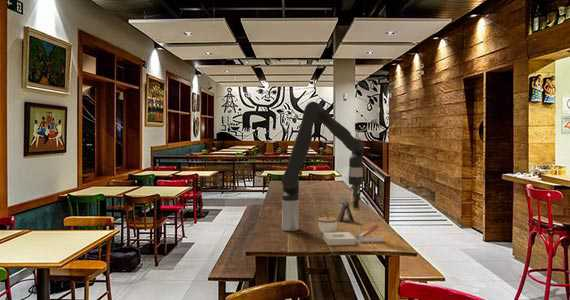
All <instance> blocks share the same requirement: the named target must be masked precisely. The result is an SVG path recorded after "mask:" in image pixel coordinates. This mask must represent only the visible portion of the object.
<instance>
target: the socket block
mask: <svg viewBox="0 0 570 300" xmlns="http://www.w3.org/2000/svg"><path fill="white" fill-rule="evenodd" d="M355 238H356V237H355V236H354V235H352V233H351V232H349V231H343V232H342V231H341V232H338V231H337V232H335V231H334V232H333V233H322V239H323V241H324V242H325V243H326V245H327V246H348V245H349V246H350V245H352V246H353V245H354V246H355V245H357V241H356V239H355Z"/></svg>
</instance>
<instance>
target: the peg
mask: <svg viewBox="0 0 570 300" xmlns="http://www.w3.org/2000/svg"><path fill="white" fill-rule="evenodd" d="M356 198H358V197H356ZM360 210H361V199H360V200H359V201H358V208H355V207H354V196H353V192H352V191H351V190H350V211H354V212H355V211H356V212H358V211H360Z"/></svg>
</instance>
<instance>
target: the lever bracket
mask: <svg viewBox="0 0 570 300" xmlns="http://www.w3.org/2000/svg"><path fill="white" fill-rule="evenodd" d="M360 234H361V232H359V233H356V237H354V238H355V239H356V243H358V244H362V243H385V239H384V238H382V237H363V236H359V238H358V235H360Z"/></svg>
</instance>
